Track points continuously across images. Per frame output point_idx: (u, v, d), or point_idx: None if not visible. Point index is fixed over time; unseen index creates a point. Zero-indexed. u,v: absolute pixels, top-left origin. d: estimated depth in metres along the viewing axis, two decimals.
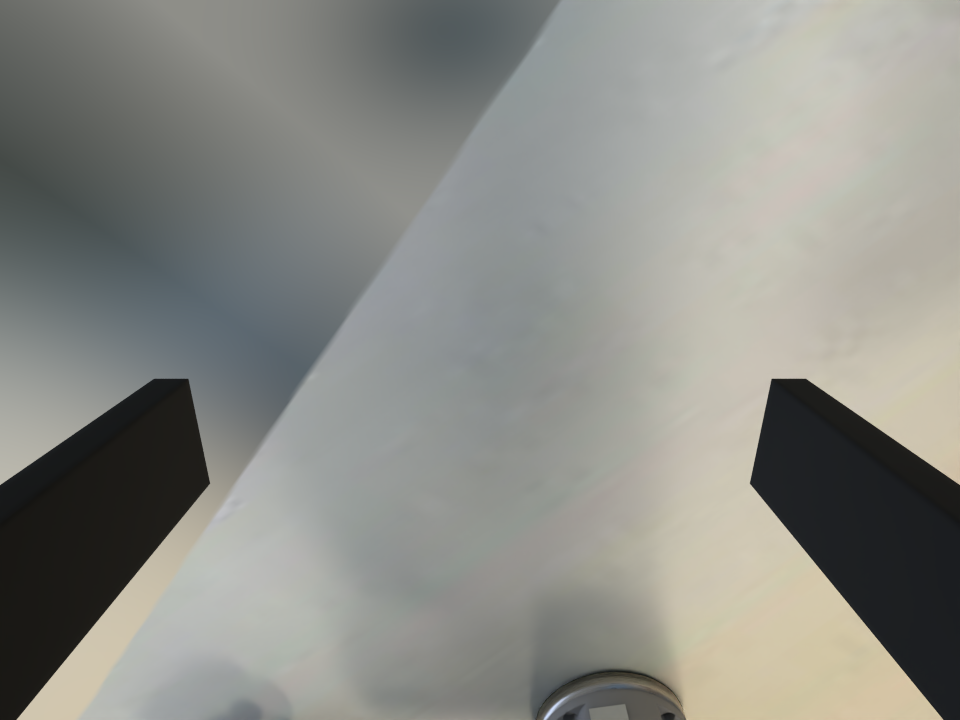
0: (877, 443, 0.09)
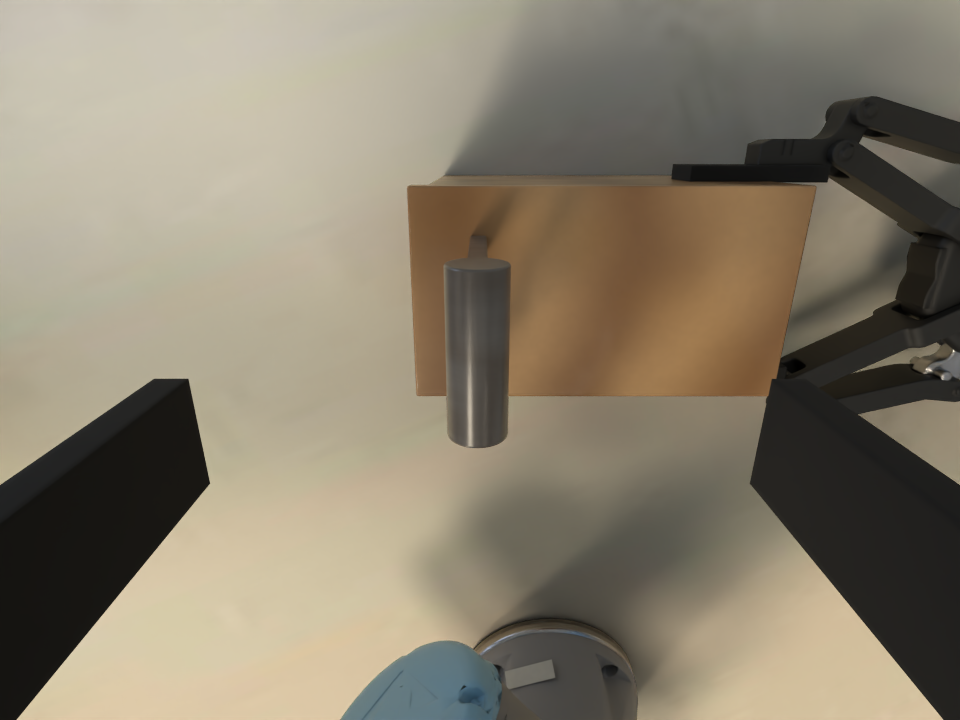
0: (877, 443, 0.09)
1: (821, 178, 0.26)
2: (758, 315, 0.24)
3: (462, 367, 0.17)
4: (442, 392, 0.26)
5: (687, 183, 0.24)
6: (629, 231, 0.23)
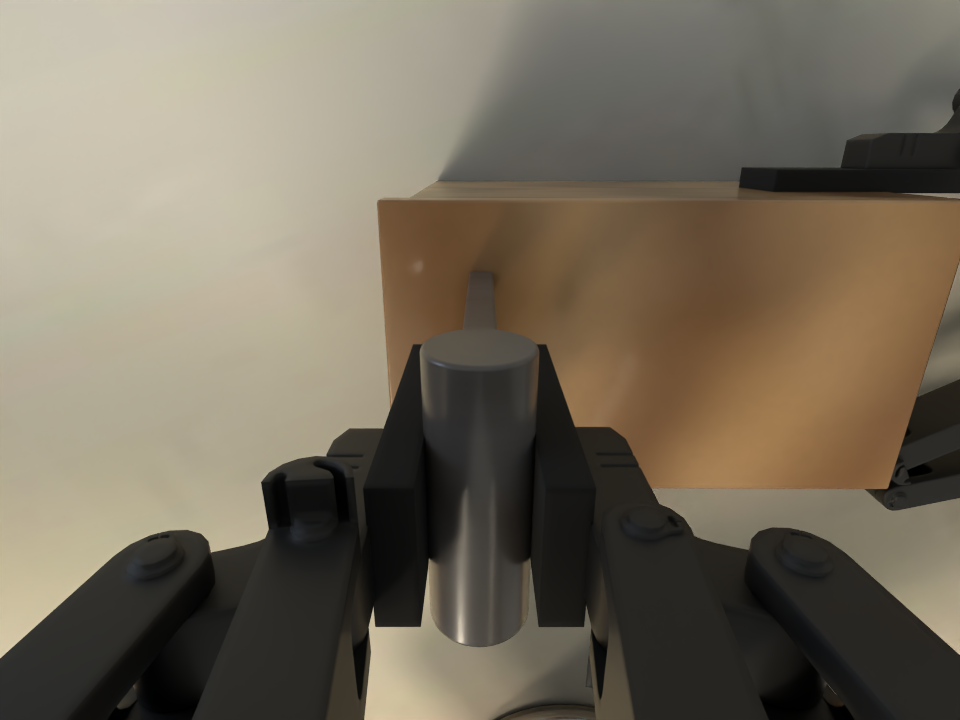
0: (543, 388, 0.11)
1: (955, 187, 0.18)
2: (878, 382, 0.17)
3: (453, 524, 0.10)
4: None
5: (777, 195, 0.17)
6: (699, 265, 0.16)
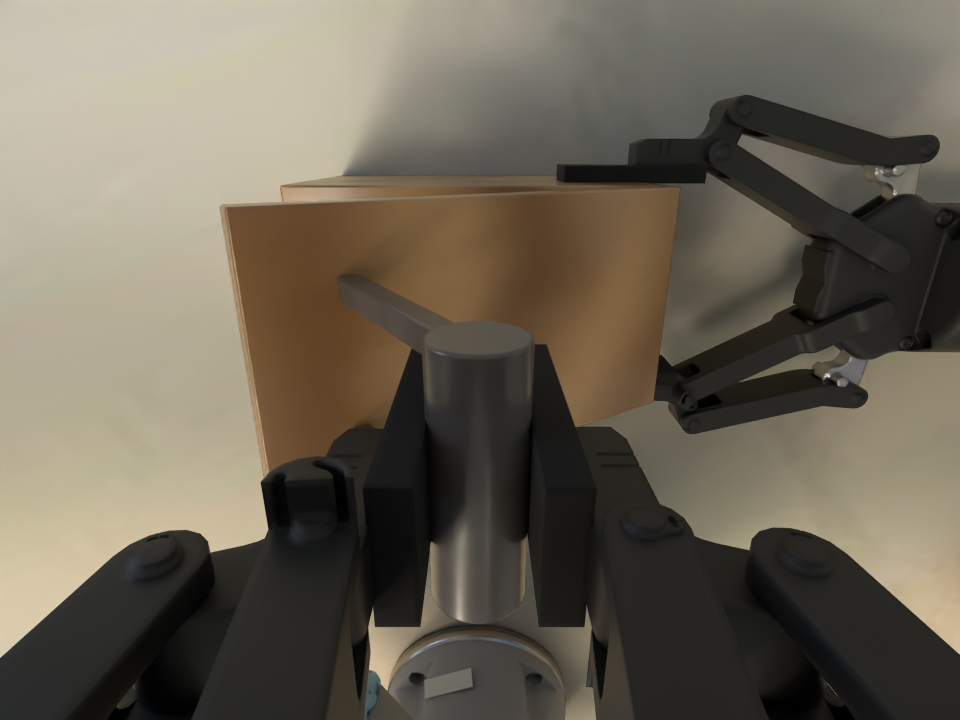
0: (544, 388, 0.11)
1: (698, 179, 0.25)
2: (641, 324, 0.23)
3: (482, 510, 0.10)
4: None
5: (552, 184, 0.23)
6: (528, 249, 0.19)
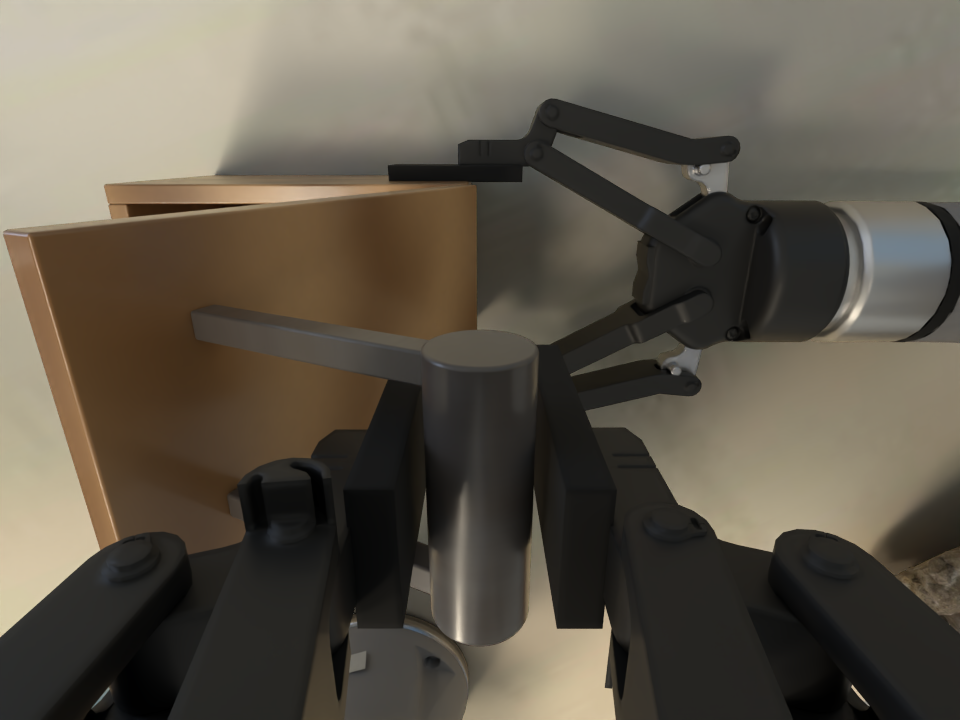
0: (558, 389, 0.11)
1: (515, 178, 0.26)
2: (463, 316, 0.24)
3: (512, 521, 0.10)
4: None
5: None
6: (373, 255, 0.18)
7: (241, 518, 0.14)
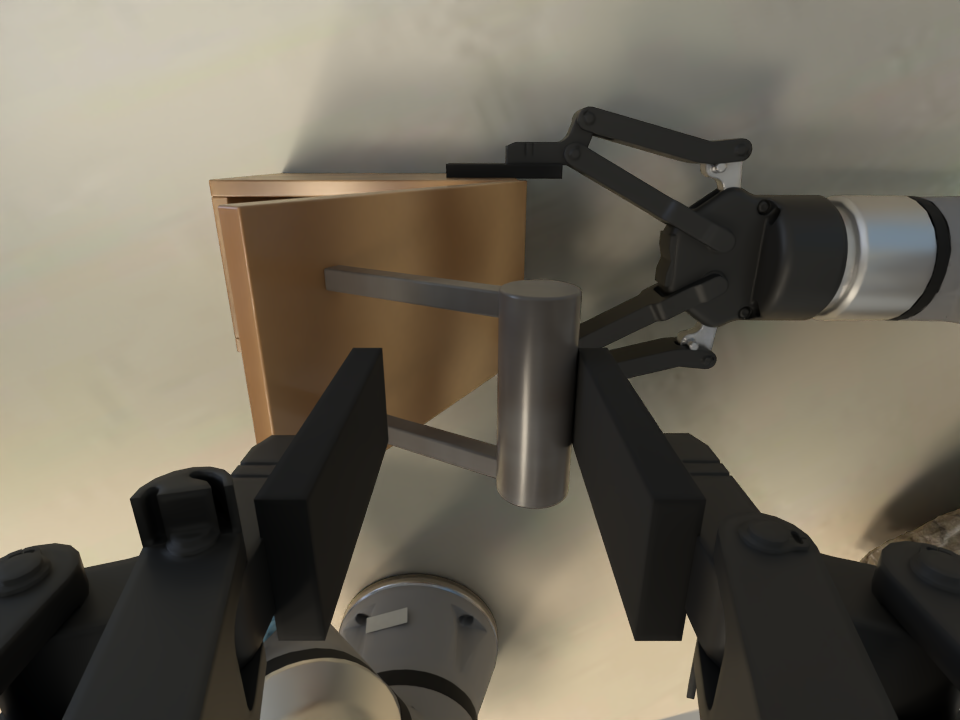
0: (619, 393, 0.11)
1: (556, 175, 0.30)
2: None
3: (560, 413, 0.14)
4: None
5: None
6: (445, 235, 0.22)
7: None
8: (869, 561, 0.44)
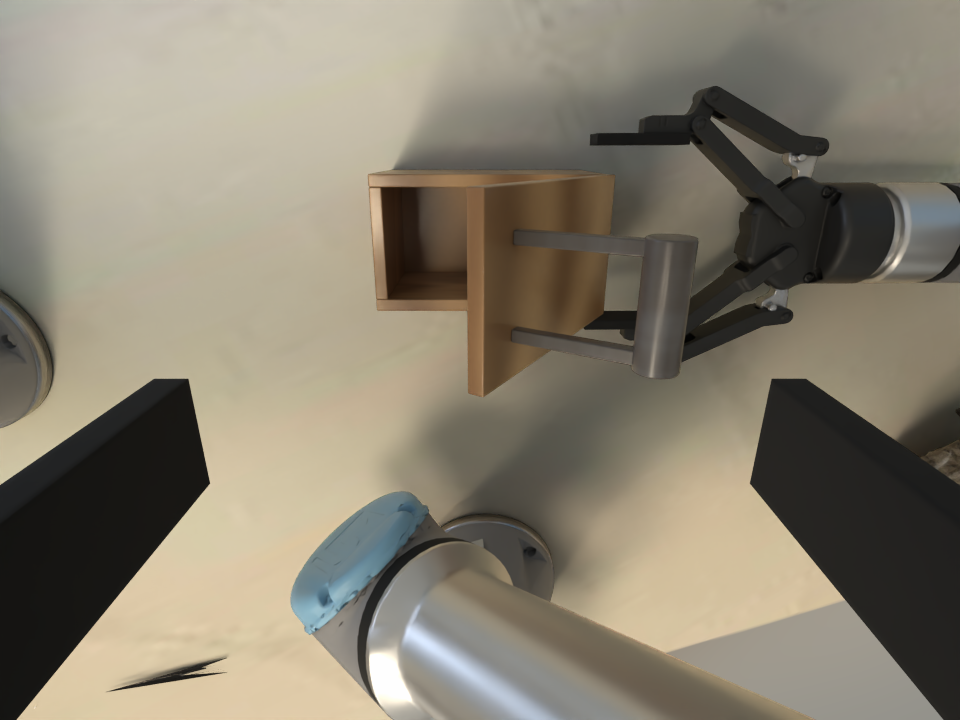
0: (877, 443, 0.09)
1: (685, 141, 0.38)
2: (601, 261, 0.36)
3: (681, 315, 0.22)
4: (496, 384, 0.26)
5: (536, 173, 0.37)
6: (569, 213, 0.30)
7: (518, 342, 0.27)
8: None
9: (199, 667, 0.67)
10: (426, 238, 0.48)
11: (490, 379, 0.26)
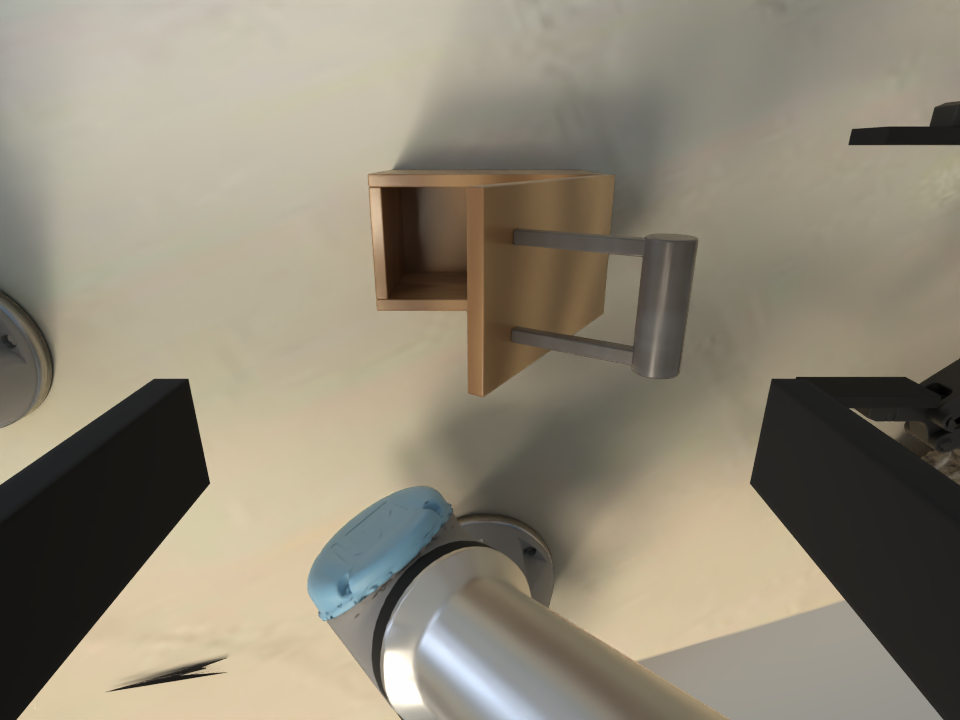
0: (877, 443, 0.09)
1: None
2: (601, 261, 0.36)
3: (681, 315, 0.22)
4: (496, 384, 0.26)
5: (536, 173, 0.37)
6: (569, 213, 0.30)
7: (518, 342, 0.27)
8: None
9: (199, 667, 0.67)
10: (426, 238, 0.48)
11: (490, 379, 0.26)
